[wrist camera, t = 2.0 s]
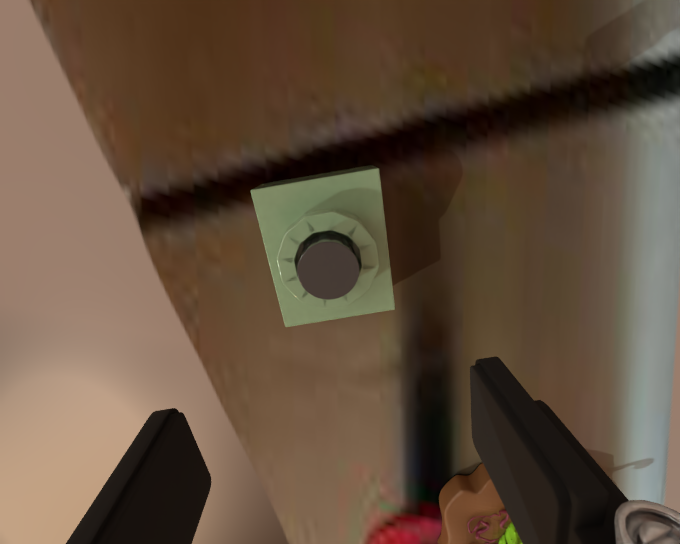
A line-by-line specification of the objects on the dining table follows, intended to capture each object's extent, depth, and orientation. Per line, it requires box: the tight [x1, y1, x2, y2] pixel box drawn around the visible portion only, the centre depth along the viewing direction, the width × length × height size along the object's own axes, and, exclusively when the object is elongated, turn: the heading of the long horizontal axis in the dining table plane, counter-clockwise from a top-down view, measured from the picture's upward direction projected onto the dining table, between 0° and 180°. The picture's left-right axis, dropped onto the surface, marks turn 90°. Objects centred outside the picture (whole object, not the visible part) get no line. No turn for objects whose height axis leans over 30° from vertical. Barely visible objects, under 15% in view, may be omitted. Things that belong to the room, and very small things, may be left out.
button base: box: [251, 165, 395, 327], centre depth 26 cm, size 11×9×6 cm
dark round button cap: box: [297, 234, 359, 300], centre depth 22 cm, size 4×4×2 cm
